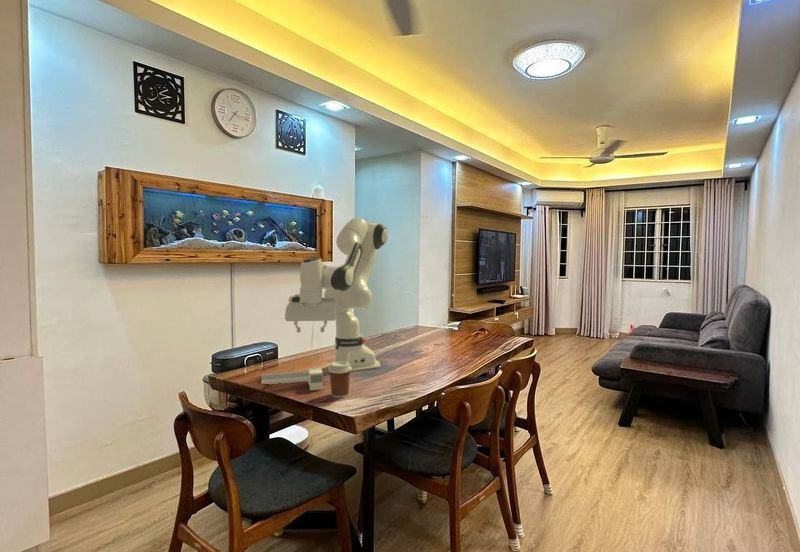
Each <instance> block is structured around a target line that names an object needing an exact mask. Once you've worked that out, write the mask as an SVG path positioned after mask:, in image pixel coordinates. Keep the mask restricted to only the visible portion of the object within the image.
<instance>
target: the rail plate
mask: <svg viewBox="0 0 800 552" xmlns="http://www.w3.org/2000/svg"><path fill="white" fill-rule="evenodd" d="M260 380H261V382H260V383H261V386H263V385H262V384H269V385H278V384H279V383H281V384H291V383H292V384H293V383H302V382H303V383H304V382H308V370H302V371H301V370H299V371H286V372H274V373H273V372H271V373H261V379H260Z"/></svg>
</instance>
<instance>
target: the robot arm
mask: <svg viewBox="0 0 800 552" xmlns="http://www.w3.org/2000/svg"><path fill="white" fill-rule="evenodd" d="M388 231H389V230H388V228H387V226H385V225H384V224H381V223H374V222H369V221H365V220H364V219H362V218H361V217H353V218H351V219H350V220H349V221H348V222H347V223H346V224H345V225H344V226H343V227H342V229H341V230H340V232H339V233H338V235H337V237H336V241H335V242H336V245H337V248H338V250H339V251H340V252H341V253H342V254H344V255H346V259H345V261H344V264H342V265H338V266H329V265H326V264H325V263H323V262H322V260H321V258H319V257H309V258H305V259H303V260H302V261H301V264H300V269H299V270H300V271H299V275H300V276H299V280H300V289H299V293H298V294H295V295H290V297H288V304H287V305H286V308H285V313H284V320H285V321H286V322H293V324H294V326H295V328H296V333H301V330H302V329H301V327H299V325H298V323H299V322H323V325H322V326H321V327H320V332H321V333H324V332H325V328H326V326H327V325H328V322H329V321H330V322H331V321H332V322H333V321H335V335H336V336H335V339H334V348H335V354H334V355H335V356H334V360H333V362H348V363H349V365H350V367H352V371H351V372H355V371H363V370H369V369H377V368H380V367H381V363H380V361H378V360H377V359H376V356H375V355H376V354H375V353H374V351H373V350H372V349H371V348H370V347H368V346H366V342H367V340H366V338H363V337H362V336H360V320H359V318H358V317H357V316H356V315H354V313H353V310H352V309H355V310H359V309H367V308H368V307H370V305H371V303H372V301H373V293H372V291H371V289H370V288H369V286H368V280H369V277H370V274H371V272H372V269H373V267H374V264H375V261H376V259H377V258H376V257H377V252H378V251H377V250H379V249H380V248H381V247H383V246H384V245H385V244H386V242H387V240H388V237H389V232H388ZM323 290H324V292H323Z"/></svg>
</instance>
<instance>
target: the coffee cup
mask: <svg viewBox="0 0 800 552" xmlns="http://www.w3.org/2000/svg"><path fill="white" fill-rule="evenodd" d="M327 371H328V372H329V380H330V391H331V397H333V398H336V399H337V398H340V399H342V398H346V397H348V396H349V393H350V380H351V379H350V376H351V372H353V371H352V367H350V365H349V363H348V362H334V361H333V362H332V363H330V366H329V367H327Z"/></svg>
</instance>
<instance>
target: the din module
mask: <svg viewBox="0 0 800 552" xmlns="http://www.w3.org/2000/svg"><path fill="white" fill-rule="evenodd" d="M307 371H308V381H307V385H308V386H309V391H321V390H324V371H323V369H322V368H321V366H312V367H307Z"/></svg>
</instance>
